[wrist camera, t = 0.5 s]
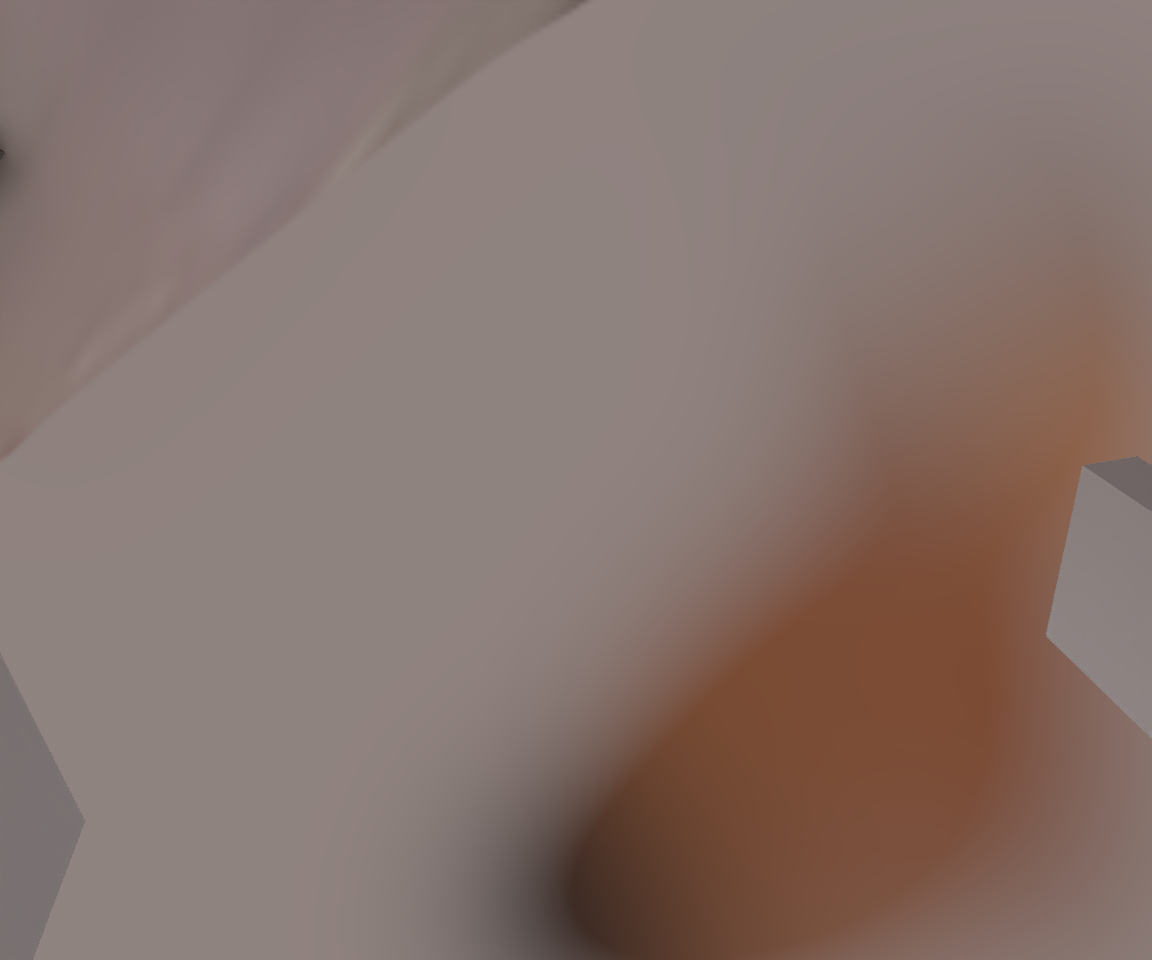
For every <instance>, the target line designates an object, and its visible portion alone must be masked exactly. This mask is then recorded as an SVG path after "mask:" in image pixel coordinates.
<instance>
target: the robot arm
mask: <svg viewBox="0 0 1152 960" xmlns="http://www.w3.org/2000/svg"><path fill="white" fill-rule="evenodd" d="M1046 636H1047V637H1048V638H1049V639H1050V640H1051V641H1052V642H1053V643H1054V644H1055V645H1056V646H1057V647H1058V648H1059V649H1060V650H1061V651H1062V652H1063V653H1064V654H1065V655H1067V657H1068V658H1070V659H1071V660H1072V661H1073V662H1074V663H1075V664H1076V665H1077V666H1078V667H1079V668H1080V669H1081V670H1082V671H1083V672H1084V673H1085V674H1086V675H1087V676H1088V677H1089V678H1090V679H1091V680H1092V681H1093V682H1094V683H1095V684H1096V685H1097V686H1098V687H1099V688H1100V689H1101V690H1103V692H1104V693H1106V694H1107V695H1108V696H1109V697H1110V698H1111V699H1112V700H1113V701H1114V702H1115V703H1116V704H1117V705H1118V706H1119V707H1120V708H1121V709H1122V710H1123V711H1124V712H1125V713H1126V714H1127V715H1128V716H1129V717H1130V718H1131V719H1132V720H1133V721H1134V722H1135V723H1136V724H1137V725H1138V726H1139V727H1141V728H1142V729H1143V730H1144V731H1145V732H1146V733H1147V734H1148V735H1149V736H1150V737H1151V738H1152V465H1151V464H1149V463H1147V462H1146V461H1144V460H1142V459H1141V458H1139V457H1138V456H1136V457H1130V458H1125V459H1119V460H1113V461H1107V462H1101V463H1095V464H1089V465H1083V467H1082V472H1081V476H1080V481H1079V485H1078V490H1077V494H1076V500H1075V504H1074V508H1073V513H1072V518H1071V522H1070V527H1069V531H1068V536H1067V541H1066V545H1065V550H1064V554H1063V559H1062V564H1061V568H1060V573H1059V577H1058V582H1057V586H1056V591H1055V596H1054V600H1053V605H1052V609H1051V614H1050V619H1049V624H1048V628H1047V633H1046ZM84 822H85V819H84V817H83V815H82V813H81V812H80V810H79V808H78V806H77V804H76V802H75V800H74V798H73V796H72V794H71V792H70V790H69V788H68V786H67V784H66V782H65V780H64V778H63V776H62V774H61V772H60V770H59V768H58V766H57V764H56V762H55V760H54V758H53V756H52V754H51V752H50V750H49V748H48V746H47V744H46V742H45V740H44V738H43V736H42V735H41V733H40V731H39V729H38V727H37V725H36V723H35V721H34V719H33V717H32V715H31V713H30V711H29V709H28V707H27V705H26V703H25V701H24V699H23V697H22V695H21V693H20V691H19V689H18V687H17V685H16V683H15V681H14V679H13V677H12V676H11V674H10V671H9V669H8V667H7V666H6V664H5V662H4V660H3V658H2V656H1V654H0V960H33V957H34V955H35V952H36V949H37V947H38V944H39V941H40V939H41V936H42V933H43V931H44V928H45V926H46V923H47V920H48V918H49V915H50V912H51V909H52V907H53V904H54V902H55V899H56V896H57V894H58V891H59V889H60V886H61V883H62V881H63V878H64V875H65V873H66V870H67V867H68V864H69V862H70V859H71V857H72V854H73V851H74V849H75V846H76V844H77V841H78V838H79V836H80V833H81V830H82V828H83V825H84Z"/></svg>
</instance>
